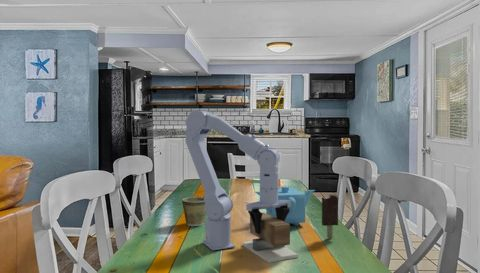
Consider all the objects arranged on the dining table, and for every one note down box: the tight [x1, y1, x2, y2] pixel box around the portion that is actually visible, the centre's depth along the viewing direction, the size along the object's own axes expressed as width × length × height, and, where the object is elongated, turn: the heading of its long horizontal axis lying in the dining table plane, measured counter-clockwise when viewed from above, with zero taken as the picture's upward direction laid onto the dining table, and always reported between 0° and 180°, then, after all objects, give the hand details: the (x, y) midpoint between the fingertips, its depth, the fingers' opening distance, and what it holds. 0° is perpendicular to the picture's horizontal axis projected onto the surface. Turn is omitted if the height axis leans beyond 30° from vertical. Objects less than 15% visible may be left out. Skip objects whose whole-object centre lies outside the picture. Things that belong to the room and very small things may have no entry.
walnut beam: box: [249, 212, 291, 247], centre depth 114 cm, size 16×5×6 cm, turn 25°
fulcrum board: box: [241, 237, 299, 263], centre depth 115 cm, size 17×10×4 cm, turn 25°
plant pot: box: [181, 196, 207, 227], centre depth 147 cm, size 13×10×10 cm
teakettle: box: [254, 185, 316, 227], centre depth 148 cm, size 19×19×15 cm
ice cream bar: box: [321, 194, 339, 240], centre depth 127 cm, size 5×2×15 cm, turn 95°
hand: (268, 231), depth 114 cm, fingers open, 7 cm apart
